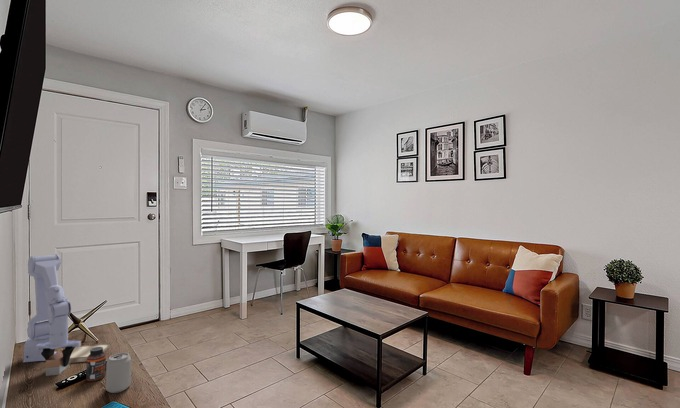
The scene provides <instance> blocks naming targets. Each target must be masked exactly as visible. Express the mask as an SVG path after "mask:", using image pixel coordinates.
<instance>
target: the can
mask: <svg viewBox="0 0 680 408" xmlns="http://www.w3.org/2000/svg"><path fill="white" fill-rule="evenodd" d="M105 369H106V370H105V390H106V391H107V392H109V393H111V394H117V393H121V392H123V391H125V390H127V389H128V388H129V387H130V386H131V384H132V381H131V380H132V379H131V378H132V377H131V376H132V375H131V373H132V372H131V371H132V358H131V356H130V354H129V352H118V353H115V354H112V355H110V356H109V358H108V360H106V364H105Z"/></svg>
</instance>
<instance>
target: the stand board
mask: <svg viewBox="0 0 680 408" xmlns="http://www.w3.org/2000/svg"><path fill="white" fill-rule="evenodd" d="M95 347H103V352H104V353H106V351H107V350H108V349H109V348H111V344H110V343H96V344H87V345H85V344H84V345H81V346H80V347H77V348H76V347H75V348H74V350H73V352H72V354H71V356H70V364H72V363H82V362H84V363H85V362H86V363H87V357H88V356H89V355H90V350H91V349H92V348H95Z"/></svg>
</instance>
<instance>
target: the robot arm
mask: <svg viewBox="0 0 680 408" xmlns="http://www.w3.org/2000/svg"><path fill="white" fill-rule="evenodd" d="M61 261H62V259H61V256H60V255H59V254H58V253H56V254H49V255H46V254H45V255H37V256H30V257H29V258H28V261H27V271H28V272H27V273H28V276H29V277H33V279H34V288H35V289H34V293H35V309H36V310H35V312H36V314H35V315H34V316H33V317H31V318H30V319H29V320H28V322H27V329H26V331H27V332H26V333H27V337H28V338H27V339H26V340H25V343H24V345H23V360H22V363H33V362H43V361H45V362H46V360H47V359H49V358H50V357H51V356H52V355H54V354H55V353H56V352H58V351H55V350H56V349H63V350H61V351H62V353H63V366H64V367H66V366H67V365H68V363H69V359H70V356H71V354H72V352H73V350H74V348H75V347H76V348H77V347H80V346H82V341H81V340H70V339H69V316H70V315H71V312H72V306H71V301H70V300H69V299H68V298H67V297H66V295H65V294H66V293H65V291H64V287H63V286H61V285H59V280H58V279H59V278H58V271H59V269H60V266H61V263H62V262H61Z"/></svg>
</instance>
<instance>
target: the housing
mask: <svg viewBox="0 0 680 408" xmlns="http://www.w3.org/2000/svg"><path fill="white" fill-rule="evenodd" d="M62 351H63V350H59V351H58V352H56V351H55V352H56V353H55V354H54V355H52V356H51V357H50V358H49V359H47V360H46V361H45V376H46V377H47V376H57V375H61V374H62V373H63V372H64V371H66V369H67V368H69V367H70V366H71V363H70V359H69V363H68V365H67V366H66V367H64V366H63V353H62Z"/></svg>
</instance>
